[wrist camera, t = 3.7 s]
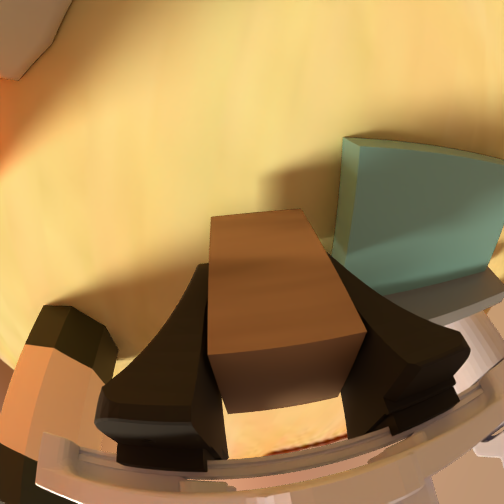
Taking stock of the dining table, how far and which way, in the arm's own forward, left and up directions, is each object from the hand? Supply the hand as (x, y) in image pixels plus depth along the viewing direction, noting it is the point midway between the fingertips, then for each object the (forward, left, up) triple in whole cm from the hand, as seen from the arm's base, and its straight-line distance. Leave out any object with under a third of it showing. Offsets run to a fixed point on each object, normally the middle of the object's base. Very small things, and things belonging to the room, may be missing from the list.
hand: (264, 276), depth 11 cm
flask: (+15, +12, -5) cm, 20 cm away
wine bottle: (-9, +16, -5) cm, 19 cm away
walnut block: (0, 0, -2) cm, 2 cm away
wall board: (-1, -13, -5) cm, 14 cm away
